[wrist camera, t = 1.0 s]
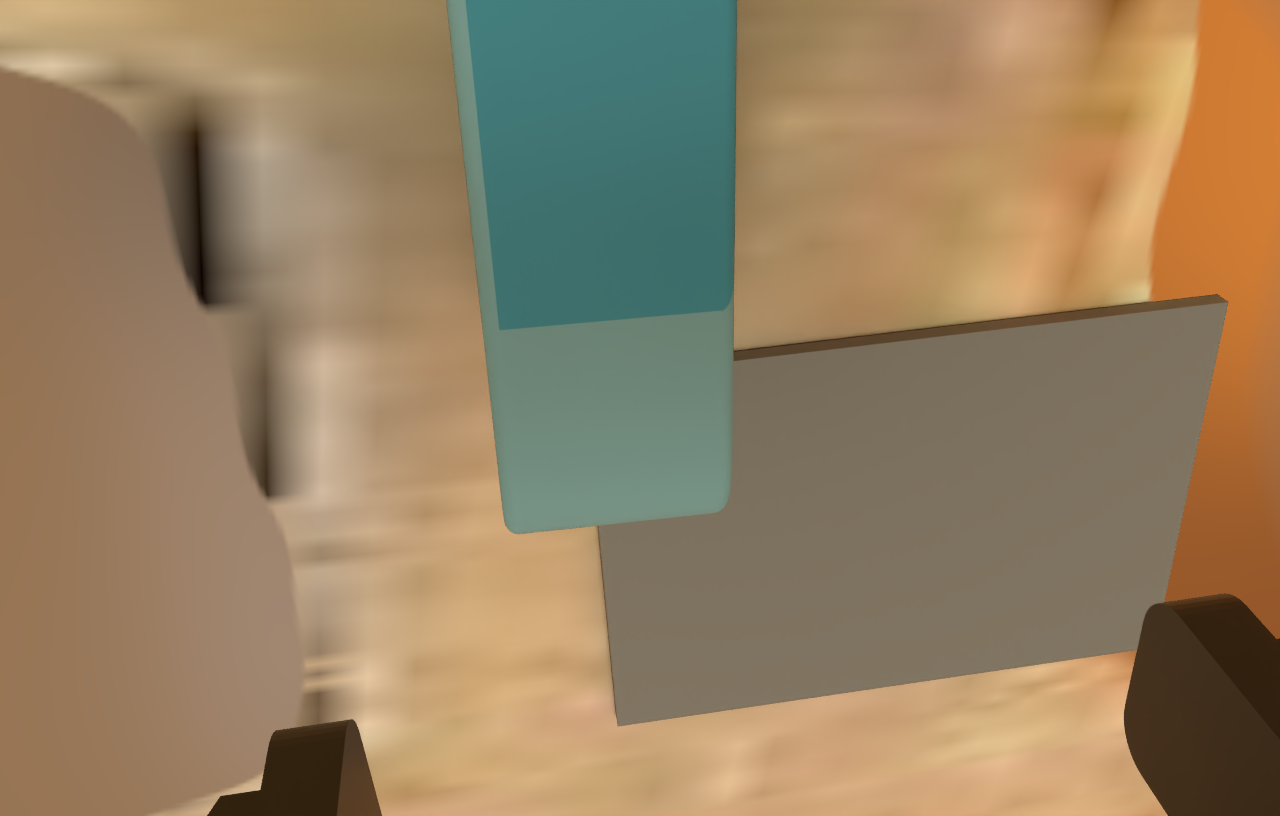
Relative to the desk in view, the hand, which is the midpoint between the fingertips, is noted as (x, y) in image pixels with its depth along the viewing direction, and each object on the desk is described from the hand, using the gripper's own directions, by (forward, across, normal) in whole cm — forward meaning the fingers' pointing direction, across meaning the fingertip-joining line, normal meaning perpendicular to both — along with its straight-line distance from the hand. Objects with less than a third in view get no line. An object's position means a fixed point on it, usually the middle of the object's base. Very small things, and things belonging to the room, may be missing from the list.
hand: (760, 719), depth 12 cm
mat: (+22, -10, +15) cm, 28 cm away
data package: (+22, 0, 0) cm, 22 cm away
